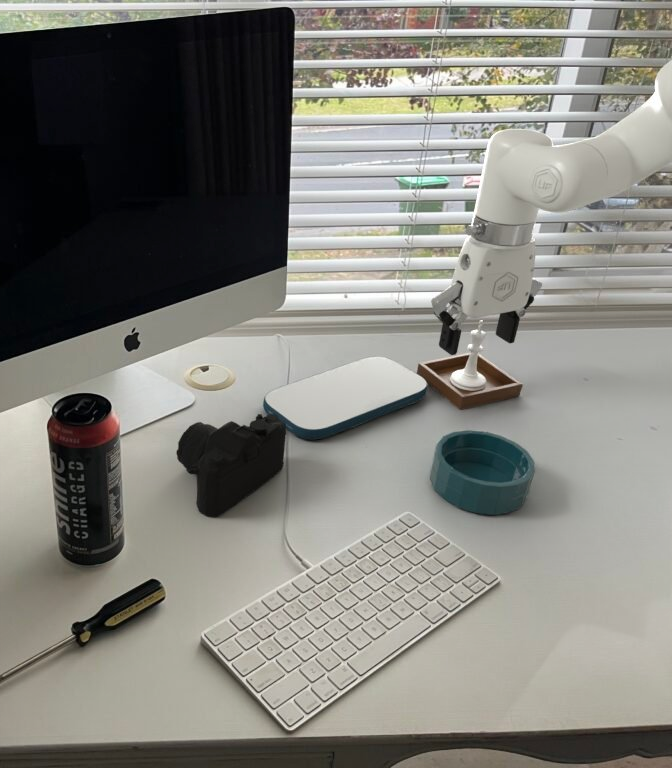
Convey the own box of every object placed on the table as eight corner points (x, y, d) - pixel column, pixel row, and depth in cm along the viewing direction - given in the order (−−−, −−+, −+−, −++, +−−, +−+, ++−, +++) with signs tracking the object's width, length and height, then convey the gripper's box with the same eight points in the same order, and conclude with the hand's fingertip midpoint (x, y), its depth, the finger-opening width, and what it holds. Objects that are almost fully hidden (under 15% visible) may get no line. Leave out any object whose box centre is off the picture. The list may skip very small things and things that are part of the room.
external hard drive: (378, 363, 122) (379, 351, 121) (436, 397, 113) (438, 385, 112) (253, 407, 111) (254, 395, 110) (306, 448, 103) (308, 436, 102)
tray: (473, 362, 122) (475, 351, 121) (519, 395, 113) (522, 384, 112) (416, 374, 119) (418, 362, 118) (459, 409, 110) (462, 397, 109)
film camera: (234, 437, 105) (236, 379, 101) (293, 468, 99) (298, 408, 95) (152, 489, 96) (151, 427, 92) (212, 526, 90) (213, 463, 86)
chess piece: (447, 386, 115) (460, 324, 110) (452, 370, 119) (465, 310, 113) (483, 394, 113) (498, 331, 108) (487, 377, 117) (502, 316, 112)
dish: (484, 451, 102) (491, 422, 100) (547, 504, 93) (556, 474, 91) (410, 470, 99) (416, 440, 97) (468, 526, 90) (476, 495, 88)
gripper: (464, 248, 98) (441, 368, 107) (576, 230, 103) (544, 346, 112) (428, 228, 104) (408, 343, 113) (534, 212, 109) (508, 323, 118)
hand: (476, 344), depth 112 cm, fingers open, 9 cm apart
